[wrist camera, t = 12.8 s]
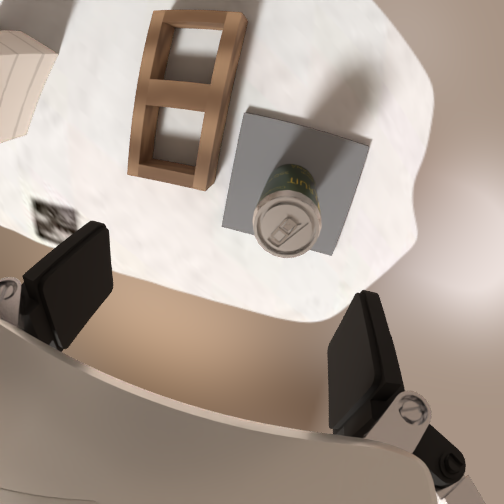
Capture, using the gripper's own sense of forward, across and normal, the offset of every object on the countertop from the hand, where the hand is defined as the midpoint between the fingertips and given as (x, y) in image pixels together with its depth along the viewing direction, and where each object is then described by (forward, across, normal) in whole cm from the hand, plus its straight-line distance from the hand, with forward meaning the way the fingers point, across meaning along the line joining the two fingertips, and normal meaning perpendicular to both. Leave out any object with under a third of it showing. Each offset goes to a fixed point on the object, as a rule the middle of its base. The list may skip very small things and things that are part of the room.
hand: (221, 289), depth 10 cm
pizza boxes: (+26, +49, -11) cm, 57 cm away
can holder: (+25, +11, -5) cm, 28 cm away
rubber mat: (+24, -3, +3) cm, 25 cm away
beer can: (+24, -2, +3) cm, 24 cm away
